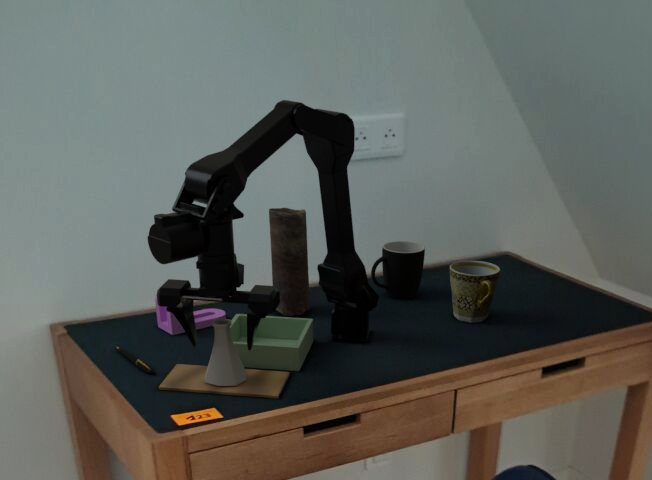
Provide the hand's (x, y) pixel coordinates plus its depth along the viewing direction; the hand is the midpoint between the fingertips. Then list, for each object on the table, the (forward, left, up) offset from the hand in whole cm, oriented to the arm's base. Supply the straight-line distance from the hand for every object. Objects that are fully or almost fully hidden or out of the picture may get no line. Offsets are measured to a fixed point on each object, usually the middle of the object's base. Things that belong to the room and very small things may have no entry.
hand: (222, 347), depth 142 cm
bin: (-4, -14, -6) cm, 16 cm away
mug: (-24, -51, -6) cm, 57 cm away
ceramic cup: (-41, -39, -6) cm, 57 cm away
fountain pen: (+18, -6, -6) cm, 20 cm away
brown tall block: (-4, -37, -6) cm, 38 cm away
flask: (0, 0, -6) cm, 6 cm away
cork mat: (0, 0, -6) cm, 6 cm away
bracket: (+13, -26, -6) cm, 30 cm away
